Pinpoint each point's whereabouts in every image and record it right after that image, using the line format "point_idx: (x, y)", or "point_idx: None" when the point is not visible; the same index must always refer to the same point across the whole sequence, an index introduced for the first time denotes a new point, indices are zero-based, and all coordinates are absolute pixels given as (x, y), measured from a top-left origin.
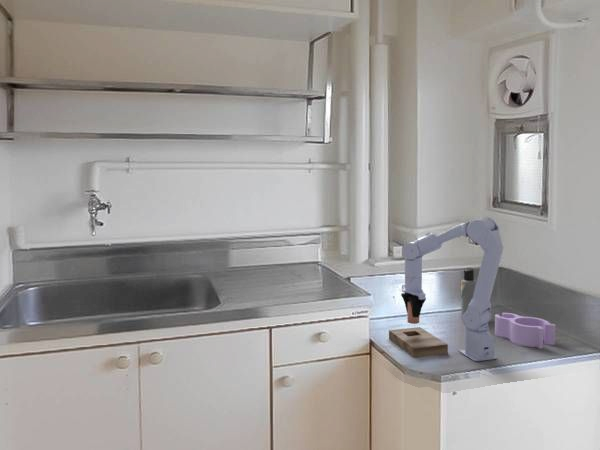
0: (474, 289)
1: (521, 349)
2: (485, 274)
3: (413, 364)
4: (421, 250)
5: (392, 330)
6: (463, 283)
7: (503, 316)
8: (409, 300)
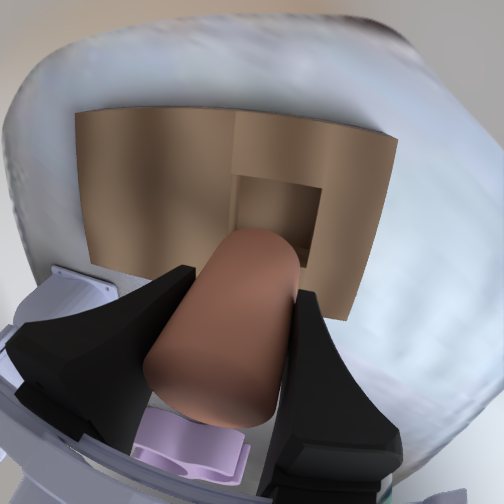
0: None
1: None
2: None
3: (56, 83)
4: None
5: (381, 155)
6: None
7: (233, 475)
8: (282, 409)
